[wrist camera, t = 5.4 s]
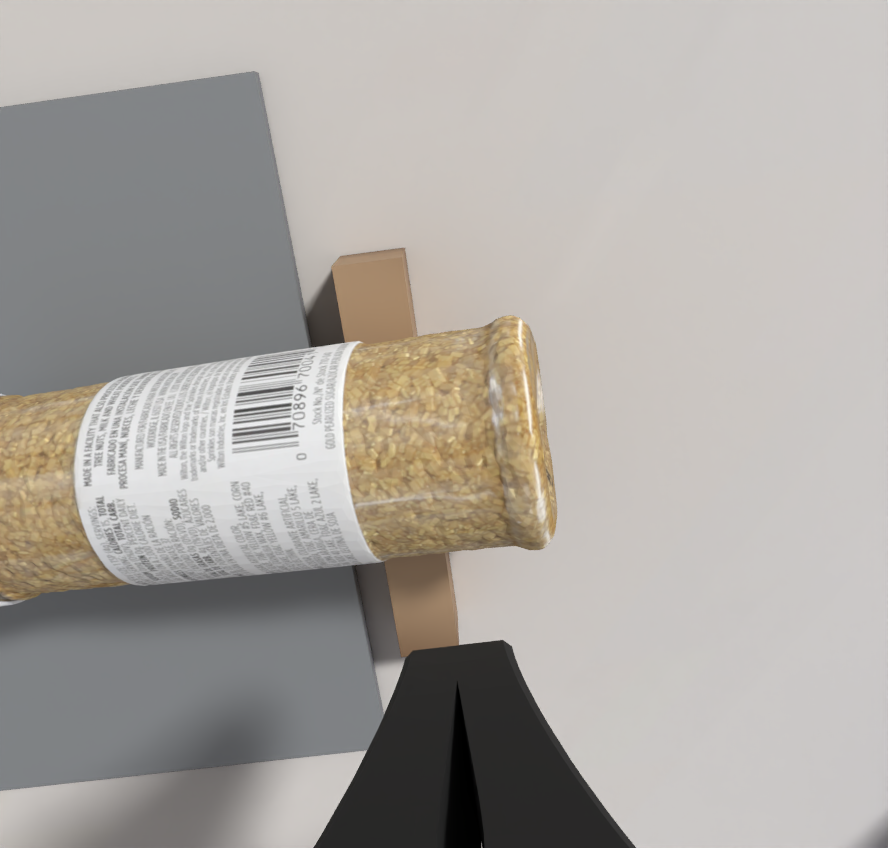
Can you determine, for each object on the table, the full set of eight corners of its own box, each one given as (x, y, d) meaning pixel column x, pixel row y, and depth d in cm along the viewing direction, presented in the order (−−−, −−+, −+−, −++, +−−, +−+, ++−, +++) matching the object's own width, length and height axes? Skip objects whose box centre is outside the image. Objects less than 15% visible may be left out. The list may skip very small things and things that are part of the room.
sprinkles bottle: (543, 376, 17) (25, 446, 19) (522, 262, 13) (-132, 368, 15) (566, 575, 15) (-9, 627, 18) (550, 514, 11) (-197, 592, 14)
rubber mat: (388, 737, 22) (387, 747, 22) (-39, 785, 23) (-47, 795, 22) (258, 73, 16) (254, 71, 16) (-328, 155, 16) (-346, 156, 16)
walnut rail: (457, 614, 21) (459, 650, 19) (403, 620, 21) (401, 657, 19) (404, 247, 17) (401, 257, 16) (340, 256, 17) (331, 266, 16)
